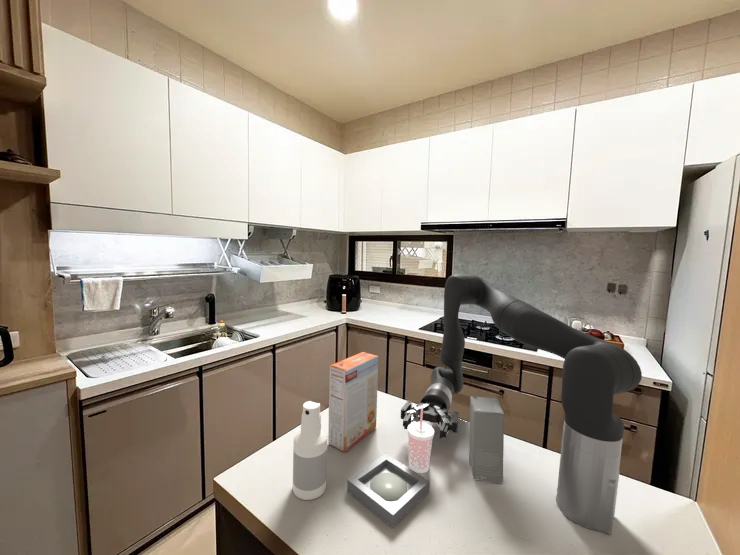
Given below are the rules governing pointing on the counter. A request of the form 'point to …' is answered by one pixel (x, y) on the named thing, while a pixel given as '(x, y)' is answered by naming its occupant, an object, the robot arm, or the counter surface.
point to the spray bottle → (310, 455)
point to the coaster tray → (388, 488)
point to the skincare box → (486, 439)
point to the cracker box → (352, 399)
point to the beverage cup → (420, 445)
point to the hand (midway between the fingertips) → (423, 430)
